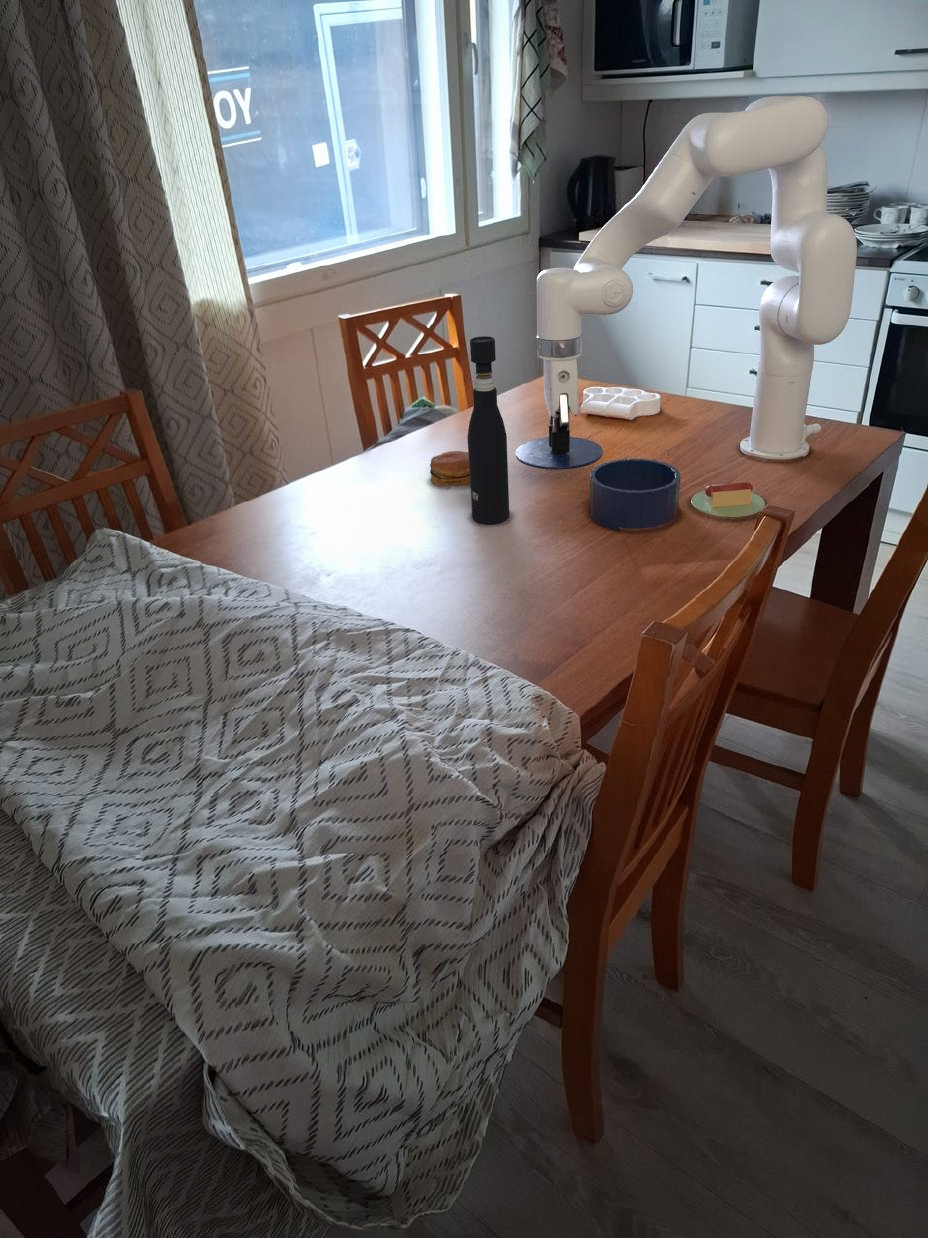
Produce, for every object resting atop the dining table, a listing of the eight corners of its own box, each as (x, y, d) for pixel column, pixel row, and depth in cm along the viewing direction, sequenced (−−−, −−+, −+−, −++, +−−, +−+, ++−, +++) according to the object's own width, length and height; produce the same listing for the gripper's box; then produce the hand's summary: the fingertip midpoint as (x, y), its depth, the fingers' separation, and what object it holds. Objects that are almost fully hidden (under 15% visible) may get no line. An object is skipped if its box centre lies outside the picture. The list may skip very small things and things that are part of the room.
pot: (643, 489, 154) (645, 452, 150) (695, 518, 142) (698, 479, 138) (573, 508, 149) (573, 470, 145) (621, 539, 137) (623, 499, 134)
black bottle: (514, 510, 149) (508, 334, 134) (503, 526, 144) (496, 344, 128) (479, 507, 151) (469, 333, 136) (467, 523, 146) (455, 343, 130)
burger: (487, 483, 160) (485, 459, 158) (439, 492, 158) (437, 468, 156) (469, 466, 169) (468, 443, 166) (424, 474, 166) (422, 451, 164)
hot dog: (747, 495, 147) (749, 478, 145) (754, 503, 144) (756, 486, 142) (701, 499, 147) (702, 481, 145) (707, 507, 144) (709, 490, 142)
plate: (731, 486, 152) (731, 482, 152) (780, 509, 143) (780, 505, 143) (676, 501, 148) (676, 497, 148) (722, 526, 139) (723, 522, 139)
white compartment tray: (567, 414, 191) (595, 396, 202) (642, 425, 183) (668, 405, 193) (567, 400, 190) (595, 382, 200) (643, 409, 181) (669, 390, 191)
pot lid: (573, 436, 166) (573, 407, 163) (619, 461, 153) (621, 430, 150) (500, 452, 160) (499, 423, 157) (543, 479, 148) (542, 448, 145)
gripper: (589, 356, 140) (587, 463, 149) (573, 333, 153) (572, 433, 163) (544, 360, 139) (545, 467, 149) (531, 336, 153) (532, 436, 163)
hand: (559, 448), depth 156 cm, fingers closed on pot lid, 2 cm apart
